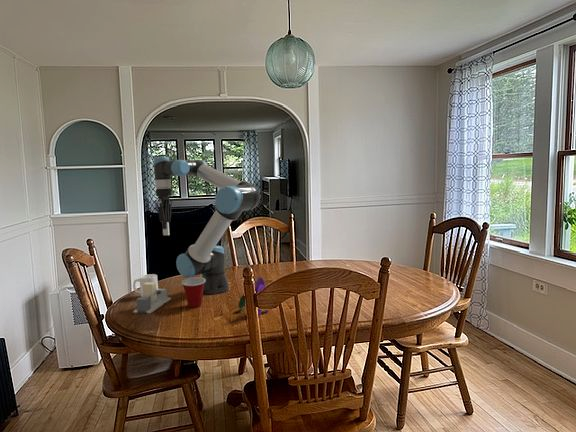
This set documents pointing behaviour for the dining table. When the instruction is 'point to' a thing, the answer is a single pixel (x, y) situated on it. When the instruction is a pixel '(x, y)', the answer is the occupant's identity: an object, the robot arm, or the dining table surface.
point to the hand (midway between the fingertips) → (166, 235)
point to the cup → (143, 279)
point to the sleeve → (150, 291)
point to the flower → (258, 287)
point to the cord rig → (145, 303)
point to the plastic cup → (194, 291)
